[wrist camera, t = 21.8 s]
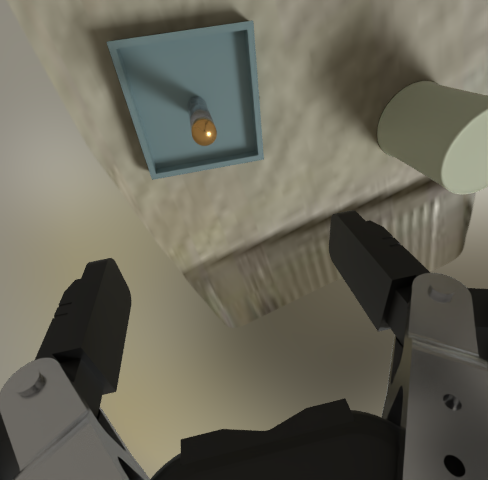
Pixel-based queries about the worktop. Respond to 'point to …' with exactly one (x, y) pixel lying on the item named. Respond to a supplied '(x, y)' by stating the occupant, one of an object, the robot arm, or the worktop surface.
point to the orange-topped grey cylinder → (201, 122)
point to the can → (439, 134)
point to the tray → (192, 95)
